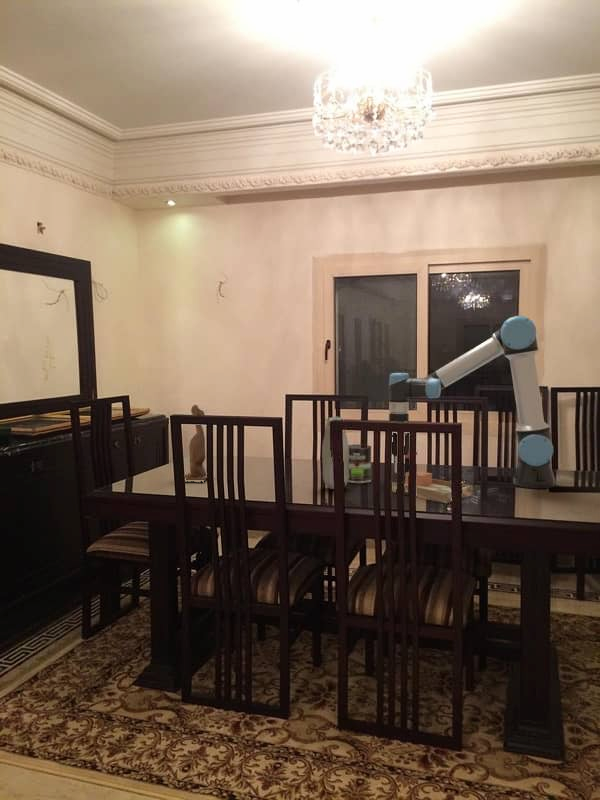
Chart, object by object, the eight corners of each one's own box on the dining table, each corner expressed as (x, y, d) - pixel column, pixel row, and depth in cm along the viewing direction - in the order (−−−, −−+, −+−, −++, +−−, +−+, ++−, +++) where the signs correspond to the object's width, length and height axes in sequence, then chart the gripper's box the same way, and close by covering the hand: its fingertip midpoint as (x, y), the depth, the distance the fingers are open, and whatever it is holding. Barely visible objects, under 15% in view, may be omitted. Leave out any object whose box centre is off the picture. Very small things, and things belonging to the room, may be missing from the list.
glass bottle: (348, 492, 236) (347, 418, 234) (321, 491, 238) (320, 418, 235) (350, 486, 246) (349, 415, 243) (324, 485, 248) (323, 415, 245)
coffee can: (369, 483, 250) (369, 448, 249) (344, 482, 252) (343, 448, 251) (373, 478, 260) (372, 444, 259) (348, 477, 262) (348, 444, 261)
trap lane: (415, 484, 247) (415, 475, 247) (472, 495, 227) (472, 485, 227) (388, 491, 236) (388, 482, 236) (446, 503, 217) (446, 493, 217)
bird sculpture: (206, 484, 256) (206, 406, 253) (179, 483, 258) (179, 405, 255) (215, 478, 267) (215, 404, 264) (188, 477, 269) (188, 403, 266)
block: (415, 480, 244) (415, 470, 244) (432, 483, 238) (432, 473, 238) (405, 483, 240) (405, 472, 240) (422, 486, 234) (422, 475, 234)
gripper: (379, 412, 246) (379, 471, 249) (405, 414, 237) (405, 476, 239) (392, 410, 251) (392, 468, 254) (418, 413, 242) (417, 473, 244)
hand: (398, 472), depth 246 cm, fingers closed
